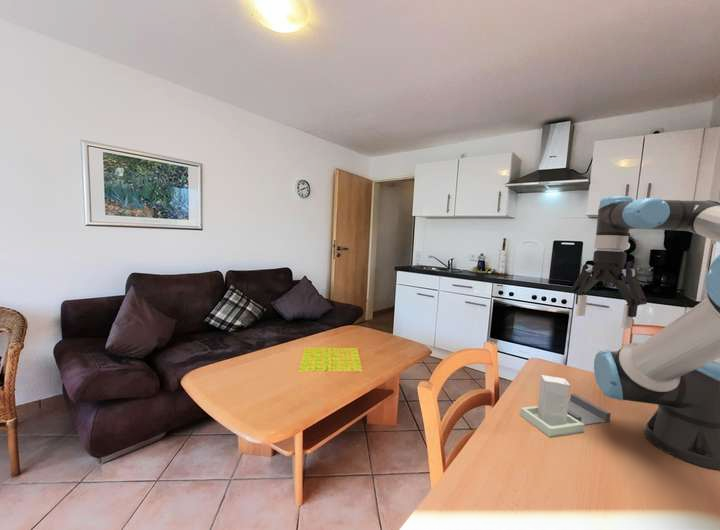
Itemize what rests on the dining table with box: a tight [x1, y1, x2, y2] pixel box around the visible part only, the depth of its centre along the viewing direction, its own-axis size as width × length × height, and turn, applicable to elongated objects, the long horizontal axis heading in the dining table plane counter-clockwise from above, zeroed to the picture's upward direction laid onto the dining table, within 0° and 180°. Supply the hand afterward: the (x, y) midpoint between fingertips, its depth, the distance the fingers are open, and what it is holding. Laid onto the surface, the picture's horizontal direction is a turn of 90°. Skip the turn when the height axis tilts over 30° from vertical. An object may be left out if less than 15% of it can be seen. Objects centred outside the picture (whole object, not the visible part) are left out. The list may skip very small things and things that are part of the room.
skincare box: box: [537, 374, 571, 426], centre depth 84 cm, size 6×4×12 cm
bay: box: [567, 393, 612, 426], centre depth 90 cm, size 11×12×2 cm
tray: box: [519, 405, 585, 438], centre depth 84 cm, size 10×11×2 cm
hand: (601, 321), depth 92 cm, fingers open, 13 cm apart
